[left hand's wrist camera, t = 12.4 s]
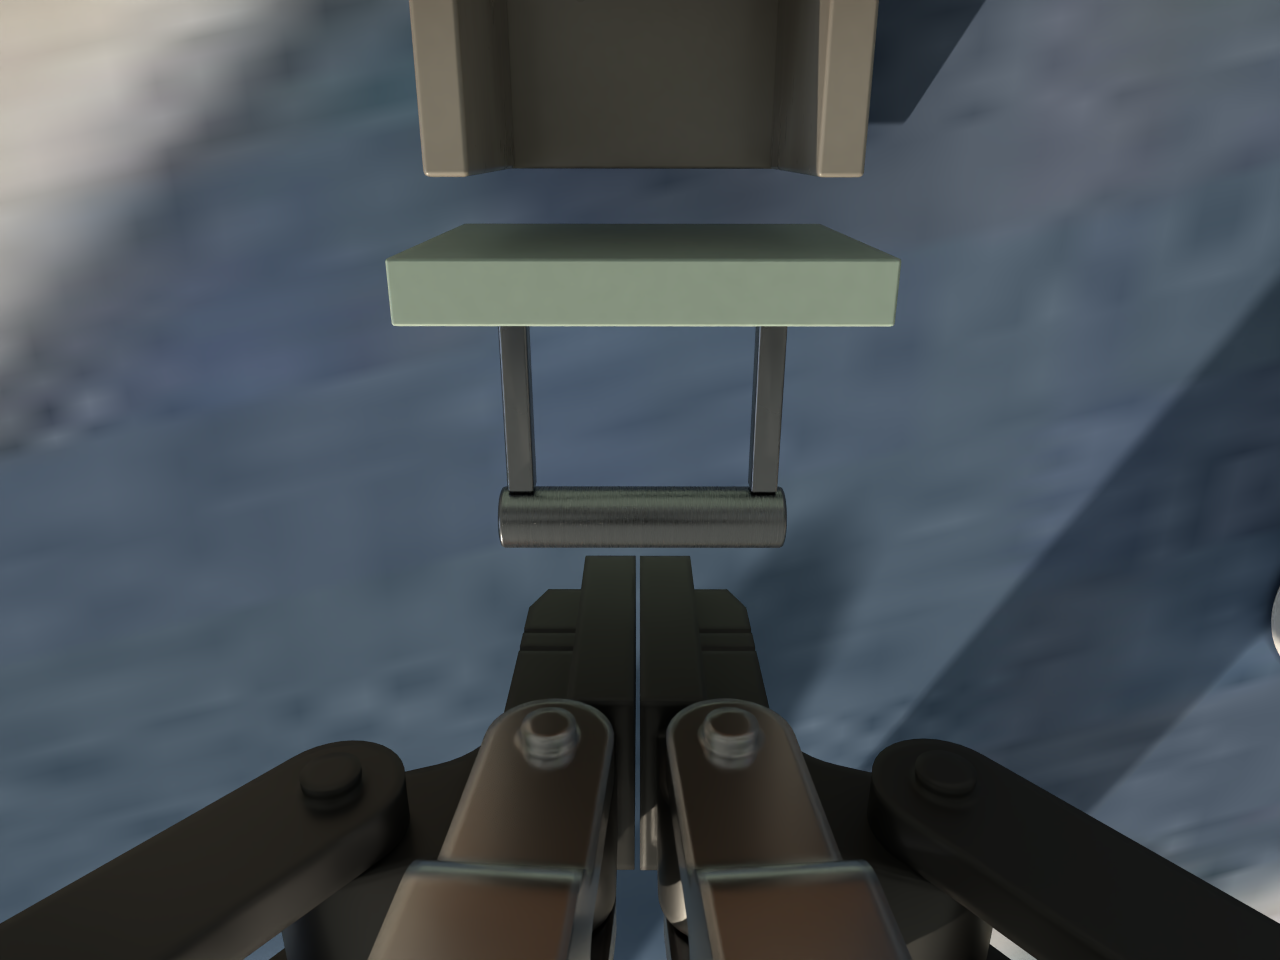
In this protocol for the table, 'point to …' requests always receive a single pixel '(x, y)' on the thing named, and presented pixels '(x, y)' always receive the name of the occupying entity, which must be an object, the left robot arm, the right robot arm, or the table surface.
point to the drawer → (643, 253)
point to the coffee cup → (1276, 621)
